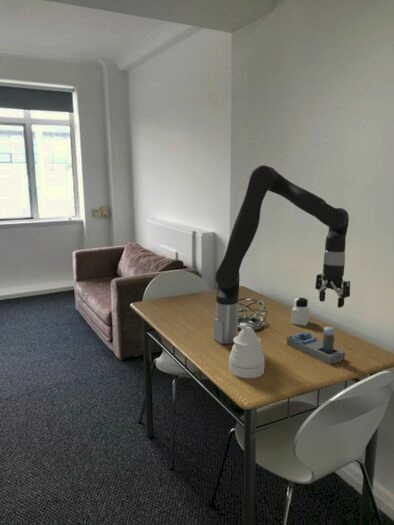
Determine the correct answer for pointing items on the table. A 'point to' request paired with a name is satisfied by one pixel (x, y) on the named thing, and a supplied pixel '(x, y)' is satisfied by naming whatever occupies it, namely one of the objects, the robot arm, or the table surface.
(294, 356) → the table surface
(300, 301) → the medicine bottle
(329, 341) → the plug
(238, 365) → the honey pot
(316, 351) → the gray socket base
